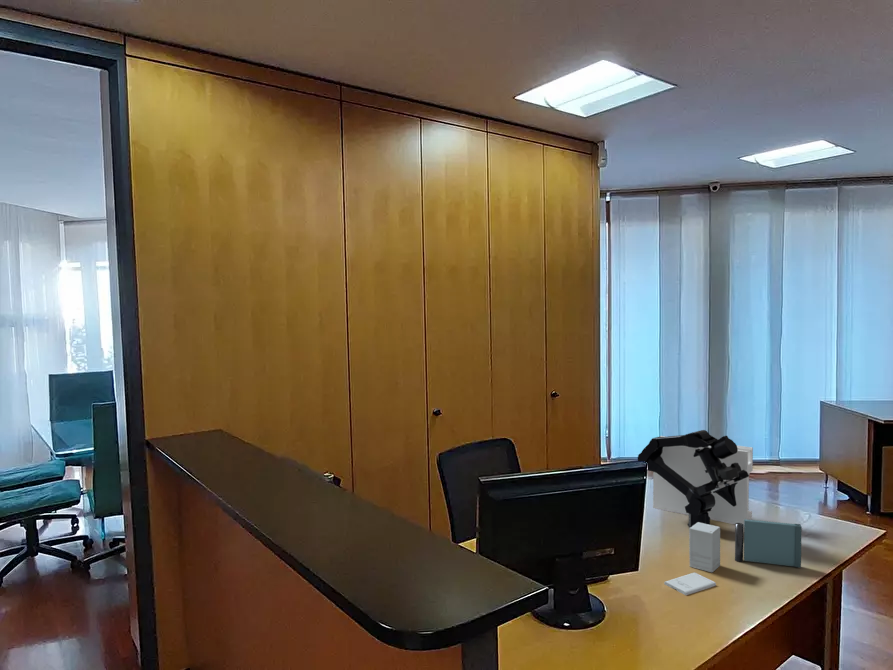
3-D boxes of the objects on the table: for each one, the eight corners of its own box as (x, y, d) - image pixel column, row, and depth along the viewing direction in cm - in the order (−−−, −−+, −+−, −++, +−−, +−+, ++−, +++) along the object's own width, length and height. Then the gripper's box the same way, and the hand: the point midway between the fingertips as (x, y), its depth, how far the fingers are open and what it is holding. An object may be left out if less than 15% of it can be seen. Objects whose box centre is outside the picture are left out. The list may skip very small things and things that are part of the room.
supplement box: (720, 565, 202) (721, 526, 201) (712, 573, 196) (712, 533, 195) (697, 559, 207) (697, 521, 206) (688, 566, 201) (688, 527, 200)
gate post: (736, 561, 204) (736, 525, 203) (733, 558, 206) (734, 522, 206) (744, 562, 204) (744, 525, 203) (741, 559, 206) (742, 522, 205)
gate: (744, 561, 203) (744, 521, 203) (743, 558, 206) (744, 518, 205) (800, 567, 198) (801, 526, 197) (799, 564, 200) (800, 524, 199)
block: (653, 508, 256) (653, 439, 254) (660, 502, 263) (660, 435, 261) (746, 526, 234) (747, 451, 233) (751, 520, 241) (752, 447, 239)
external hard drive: (715, 587, 188) (685, 597, 182) (693, 577, 195) (664, 586, 190) (715, 582, 188) (685, 591, 182) (693, 571, 195) (664, 580, 190)
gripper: (703, 465, 217) (726, 509, 211) (746, 449, 223) (769, 492, 217) (687, 473, 227) (708, 516, 221) (729, 458, 233) (751, 499, 227)
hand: (734, 506), depth 221 cm, fingers closed
